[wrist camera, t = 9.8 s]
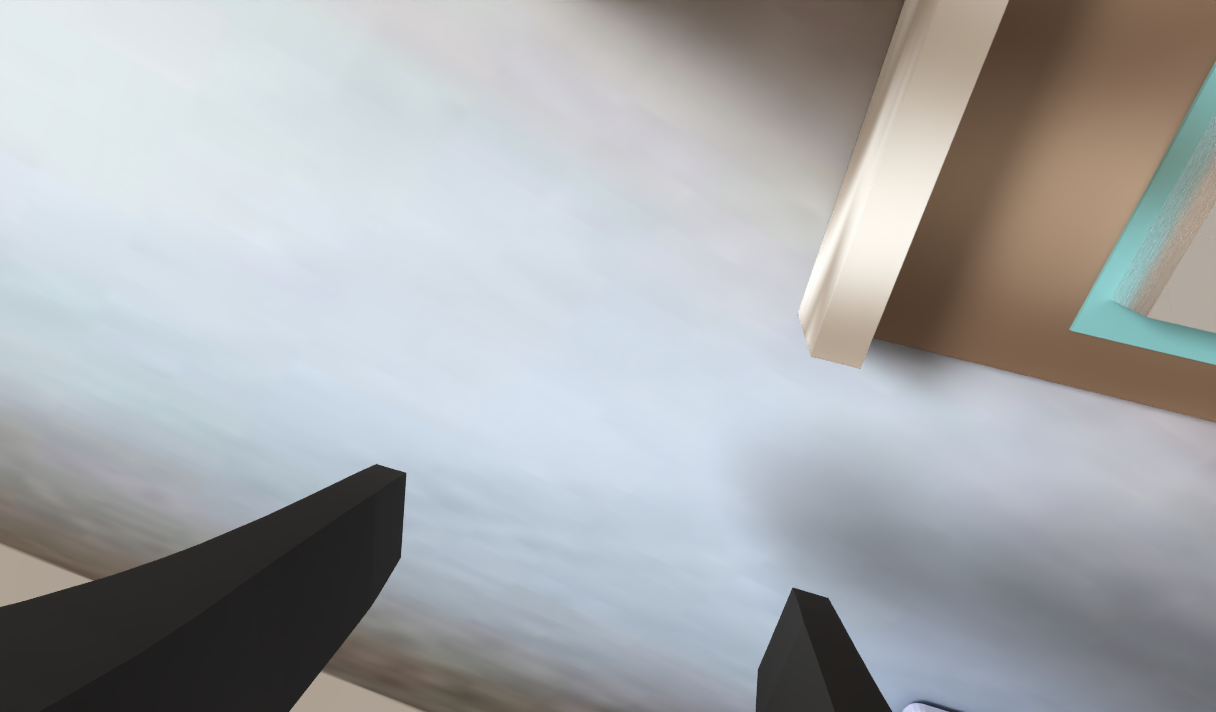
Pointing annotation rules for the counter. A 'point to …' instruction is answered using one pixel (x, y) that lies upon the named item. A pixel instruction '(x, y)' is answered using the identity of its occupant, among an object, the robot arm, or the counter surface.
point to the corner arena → (1022, 193)
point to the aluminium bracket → (1180, 250)
